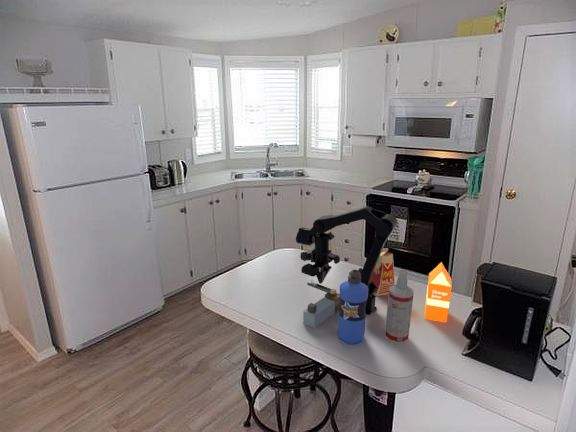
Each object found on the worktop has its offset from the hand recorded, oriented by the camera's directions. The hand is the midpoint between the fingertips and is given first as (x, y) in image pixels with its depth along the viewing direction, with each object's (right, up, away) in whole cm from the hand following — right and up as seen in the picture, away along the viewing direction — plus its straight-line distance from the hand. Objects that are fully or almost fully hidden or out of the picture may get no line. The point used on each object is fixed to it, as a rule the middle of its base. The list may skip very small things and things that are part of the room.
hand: (320, 283), depth 153 cm
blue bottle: (+8, -14, -24) cm, 29 cm away
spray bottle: (+24, -14, -24) cm, 37 cm away
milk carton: (+26, -4, +8) cm, 28 cm away
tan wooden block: (+4, -9, -7) cm, 12 cm away
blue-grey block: (-2, -11, -13) cm, 17 cm away
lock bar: (0, -2, -5) cm, 6 cm away
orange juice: (+43, -10, -11) cm, 45 cm away
